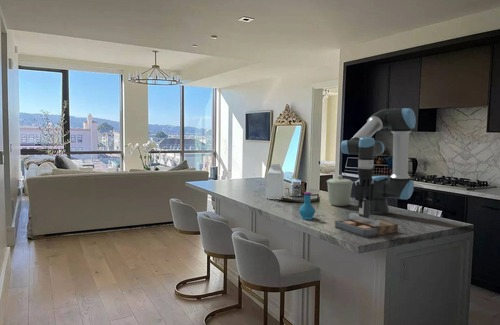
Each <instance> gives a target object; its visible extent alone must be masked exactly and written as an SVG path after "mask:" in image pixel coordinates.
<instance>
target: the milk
mask: <svg viewBox="0 0 500 325" xmlns="http://www.w3.org/2000/svg"><path fill="white" fill-rule="evenodd" d="M284 175H285V174H284V171H283V168H282V166H281V164H280V163H271V165H270V167H269V169H268V171H267V173H266V182H265V183H266V184H265V195H264V196H265V197H264V198H268V199H267V200H269V199H277V198H281V197H282V196H284V197H285V176H284Z"/></svg>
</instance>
